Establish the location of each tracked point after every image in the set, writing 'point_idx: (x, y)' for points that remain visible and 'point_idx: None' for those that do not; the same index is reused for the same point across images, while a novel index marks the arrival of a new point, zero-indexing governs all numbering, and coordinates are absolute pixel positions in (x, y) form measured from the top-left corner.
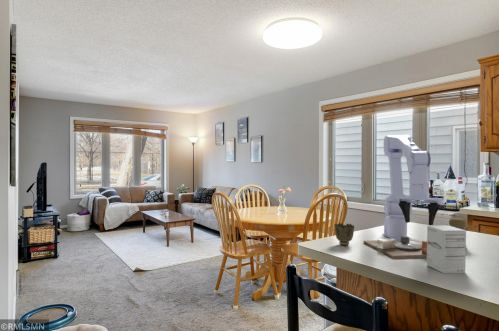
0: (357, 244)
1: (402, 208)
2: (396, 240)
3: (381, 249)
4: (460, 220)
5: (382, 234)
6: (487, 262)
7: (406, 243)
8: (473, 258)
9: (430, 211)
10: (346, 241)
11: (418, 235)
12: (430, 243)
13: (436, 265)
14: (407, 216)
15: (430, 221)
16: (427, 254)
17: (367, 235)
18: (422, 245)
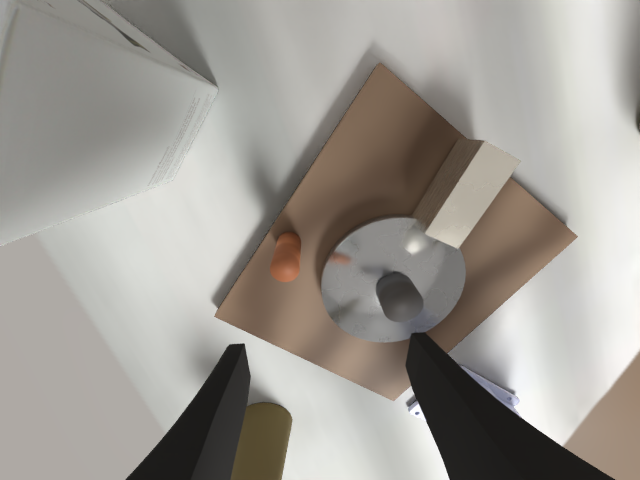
0: (591, 187)
1: (547, 454)
2: (424, 231)
3: None
4: None
5: (515, 396)
6: (115, 323)
7: None
8: (166, 336)
9: (164, 475)
10: None
11: (404, 460)
12: (109, 22)
13: (136, 28)
14: (435, 387)
15: (220, 366)
16: (189, 71)
17: (568, 354)
18: (294, 248)
